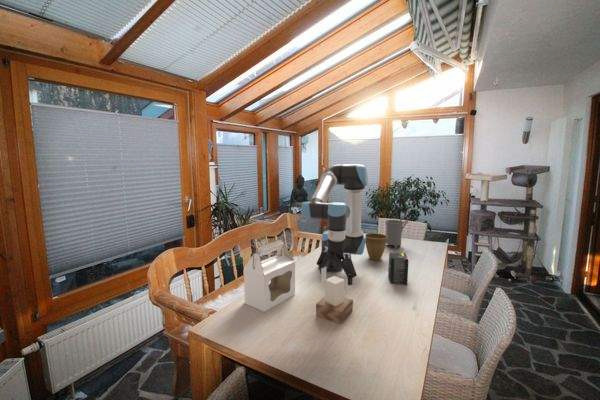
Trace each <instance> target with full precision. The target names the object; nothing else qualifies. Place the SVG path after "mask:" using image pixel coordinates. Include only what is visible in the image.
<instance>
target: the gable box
mask: <svg viewBox="0 0 600 400" xmlns="http://www.w3.org/2000/svg"><path fill="white" fill-rule="evenodd" d="M275 251H276V254H275V255H273V256H271V257H268V258H266V259H264V260H261V257H262V256H265V255H267V254H270V253H273V252H275ZM243 281H244V282H243V283H244V286H243V287H244V288H243V289H244V304H246V305H247V306H250V307H252V308H255V309H257V310H258V311H261V312H263V313H265V312H267V311H269V310H271V309H273V308H274V307H276V306H278V305H279V304H281V303H283V302H284V301H286V300H287V299H289V298H291V297H293V296H295V294H296V260H295V259H294V257H293V256H292V254H291V252H290V251H289V250H288V248H287V247H286V244H285V242H284V241H282V239H278V240H274V241H272V242H268V243H265V244H263V245H259V246H257V248H256V253H253V254H252V255H251V257H250V258H249V260H248V262H247V263H246V265H245V266H244V267H243Z"/></svg>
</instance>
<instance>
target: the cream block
mask: <svg viewBox="0 0 600 400" xmlns="http://www.w3.org/2000/svg"><path fill="white" fill-rule="evenodd" d="M345 284H346V279H343V278H340V277H338V276H336V275H333V276H331V277H330V276H329V278H326V280H325V281H324V296H325V302H327V303H329V304H331V305H333V306H337V305H339V304H341V303H343V302H344V298H346V297H345V296H346V295H345V294H346V292H345Z"/></svg>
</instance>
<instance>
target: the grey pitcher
mask: <svg viewBox="0 0 600 400" xmlns="http://www.w3.org/2000/svg"><path fill="white" fill-rule="evenodd" d="M402 218H406V220H404V221H402ZM409 221H410V220H409V217H408V216H407V215H400V217H399V219H386V220H385V227H386V228H385V235H386V236H387V242H386V244H387V245H390V246H394V248H395V250H397V248H398V246H400V245H402V233H403V230H404V228H405V226H406V225H407V224H408V223H409Z"/></svg>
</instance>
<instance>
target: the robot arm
mask: <svg viewBox="0 0 600 400" xmlns="http://www.w3.org/2000/svg"><path fill="white" fill-rule="evenodd" d="M368 179H369V178H368V171H367V168H366V165H364V164H358V163H351V164H349V163H348V164H341V163H338V164H335V165H332V166H330V167H328V168H327V169H325V170H324V171H323V172H322V174H321V175H320V177H319V183H318V185H317V187H316V189H315V191H314V193H313V194H312V196H311V198H310V200H309V201H303V202H302V204H301V205H300V206H301V207H300V213H301V216H302V218H305V219H316V220H327V230H326V231H324V232H323V233H322V234H321V241H320V242H321V252H320V254H319V257H318V259H317V261H316V265H317V266H318V269H319V274H320V282H321V283H325V280H326V279H327V272H328V273H337V272H341V271H342V270H343V271H344V274H345V275H346V277H345V294H346V293H349V292H351V291H352V290H351V289H352V285H353V278H356V277H357V276H358V275H357V270H356V269H355V266H354V263H353V260H352V255H355V256H356V255H357V256H358V255H363V254H364V252H365V251H364V250H365V247H366V243H365V242H366V236H365V233H364V231H363V230H362V206H363V205H362V204H363V203H362V201H363V196H362V195H363V191H364V190H365V189H366V187H367V186H368V184H369V183H368ZM337 185H338V186H340V185H341V186H343V189H344V190H345V191H346V202H338V201H336V202H328V200H329V197H330V195H331V193H332V192H333V191H332V190H333V188H334V187H335V186H337Z"/></svg>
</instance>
